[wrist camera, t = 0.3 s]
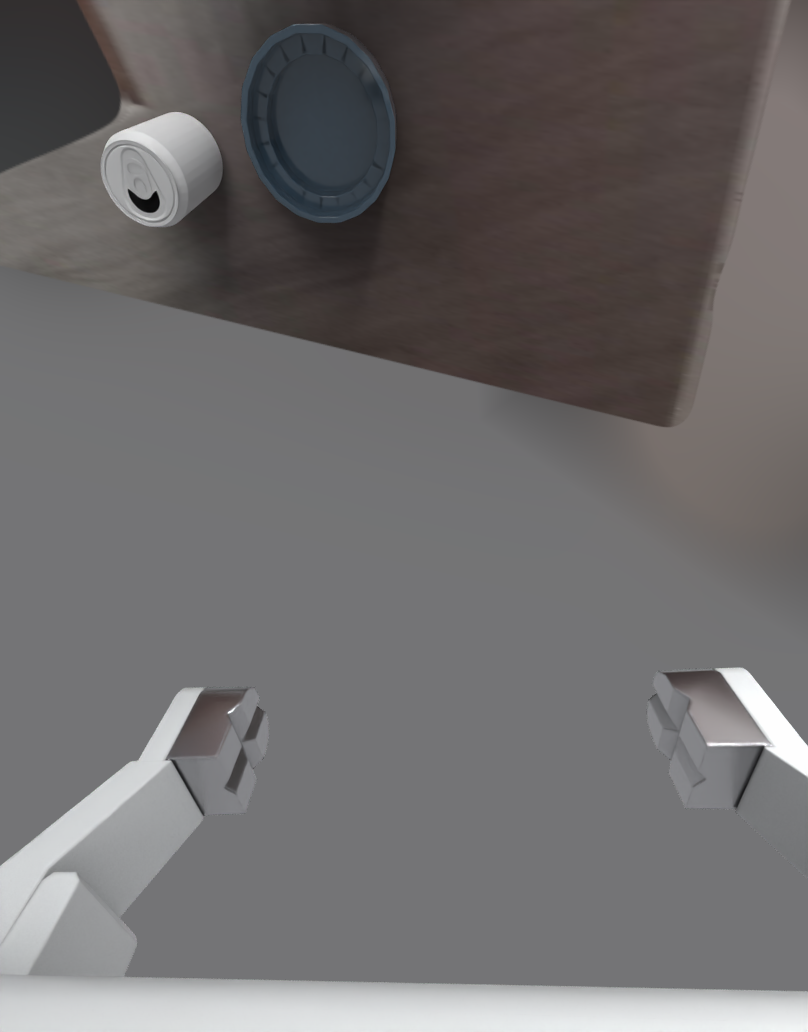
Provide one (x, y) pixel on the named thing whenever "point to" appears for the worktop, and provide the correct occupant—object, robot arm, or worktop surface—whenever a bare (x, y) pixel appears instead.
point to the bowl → (319, 122)
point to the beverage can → (161, 168)
